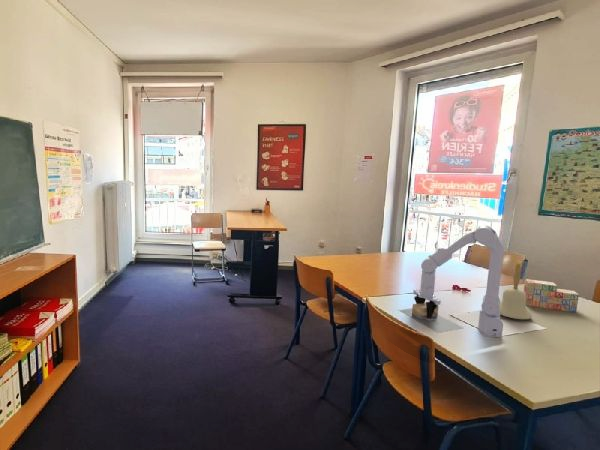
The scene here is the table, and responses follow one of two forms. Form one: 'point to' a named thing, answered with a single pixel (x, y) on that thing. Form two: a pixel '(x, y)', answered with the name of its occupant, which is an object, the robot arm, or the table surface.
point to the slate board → (434, 322)
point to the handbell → (514, 300)
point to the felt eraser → (422, 311)
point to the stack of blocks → (549, 296)
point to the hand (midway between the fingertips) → (424, 314)
